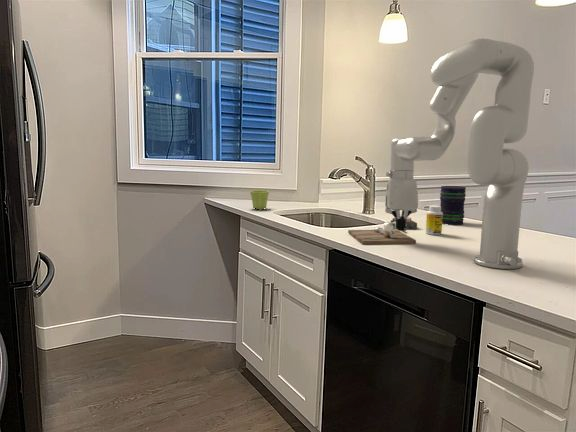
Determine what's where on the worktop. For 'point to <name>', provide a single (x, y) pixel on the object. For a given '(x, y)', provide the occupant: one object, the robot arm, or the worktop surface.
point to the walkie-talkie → (407, 223)
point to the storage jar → (452, 204)
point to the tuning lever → (387, 229)
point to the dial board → (380, 237)
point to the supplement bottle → (434, 220)
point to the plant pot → (259, 198)
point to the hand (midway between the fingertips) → (400, 230)
